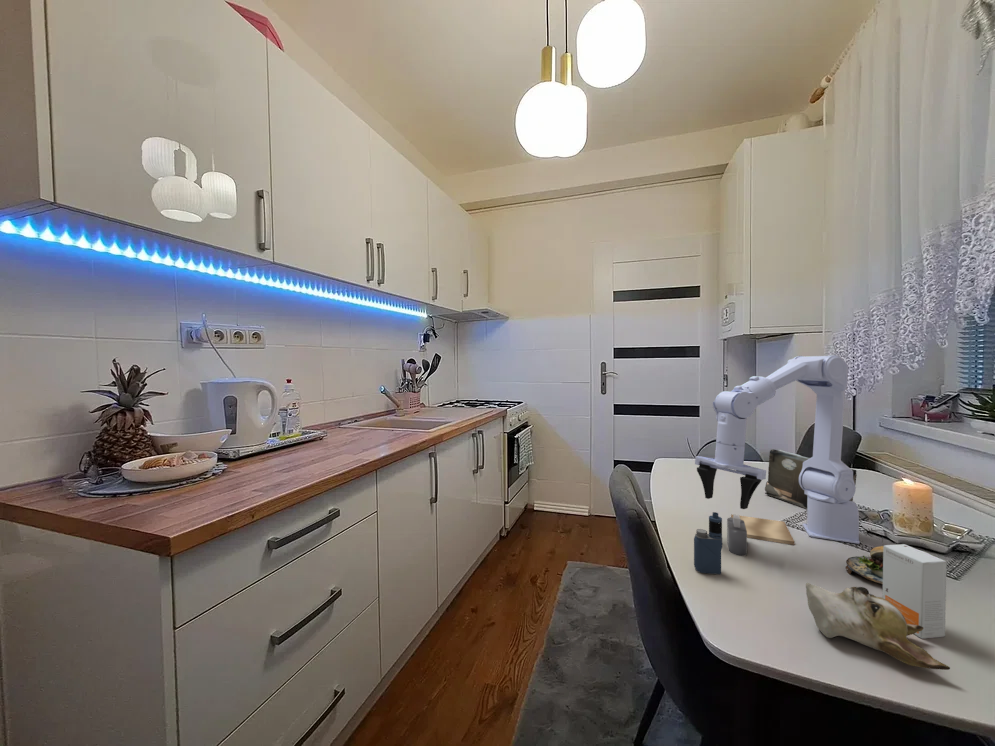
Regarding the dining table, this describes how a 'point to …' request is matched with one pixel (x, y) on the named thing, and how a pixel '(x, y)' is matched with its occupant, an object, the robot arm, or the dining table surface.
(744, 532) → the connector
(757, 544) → the dining table surface
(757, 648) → the dining table surface
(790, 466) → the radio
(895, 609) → the ceramic sculpture
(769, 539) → the oak board
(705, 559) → the vaping device
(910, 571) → the skincare box
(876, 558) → the burger
